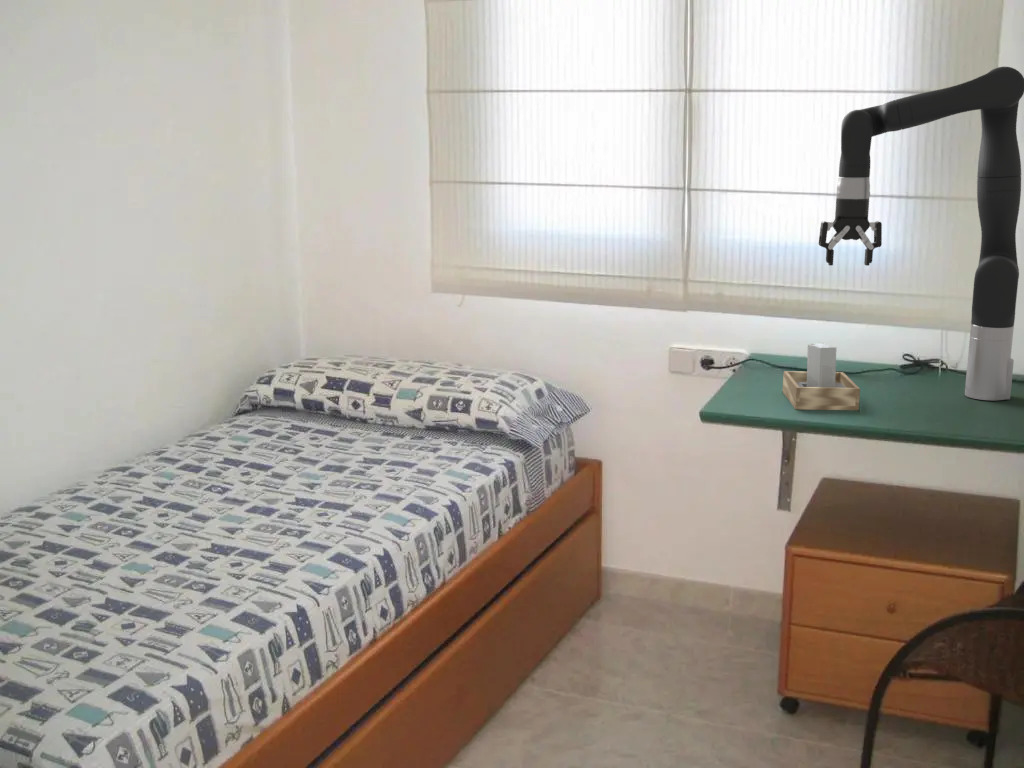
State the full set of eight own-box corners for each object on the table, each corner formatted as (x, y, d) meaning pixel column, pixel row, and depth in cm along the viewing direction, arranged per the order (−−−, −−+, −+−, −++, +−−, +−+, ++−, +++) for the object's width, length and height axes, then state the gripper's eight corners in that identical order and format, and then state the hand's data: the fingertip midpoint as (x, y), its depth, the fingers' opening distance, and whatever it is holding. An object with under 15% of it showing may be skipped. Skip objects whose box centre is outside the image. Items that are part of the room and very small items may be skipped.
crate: (841, 392, 269) (842, 372, 268) (858, 410, 252) (860, 388, 250) (782, 391, 270) (783, 371, 269) (795, 409, 253) (796, 387, 251)
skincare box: (835, 398, 258) (838, 347, 256) (818, 399, 257) (821, 348, 254) (821, 392, 264) (824, 342, 262) (804, 394, 263) (807, 343, 260)
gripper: (879, 195, 268) (874, 263, 271) (819, 195, 269) (815, 263, 272) (887, 197, 261) (882, 267, 264) (825, 197, 261) (821, 266, 265)
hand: (848, 265), depth 268 cm, fingers open, 8 cm apart
